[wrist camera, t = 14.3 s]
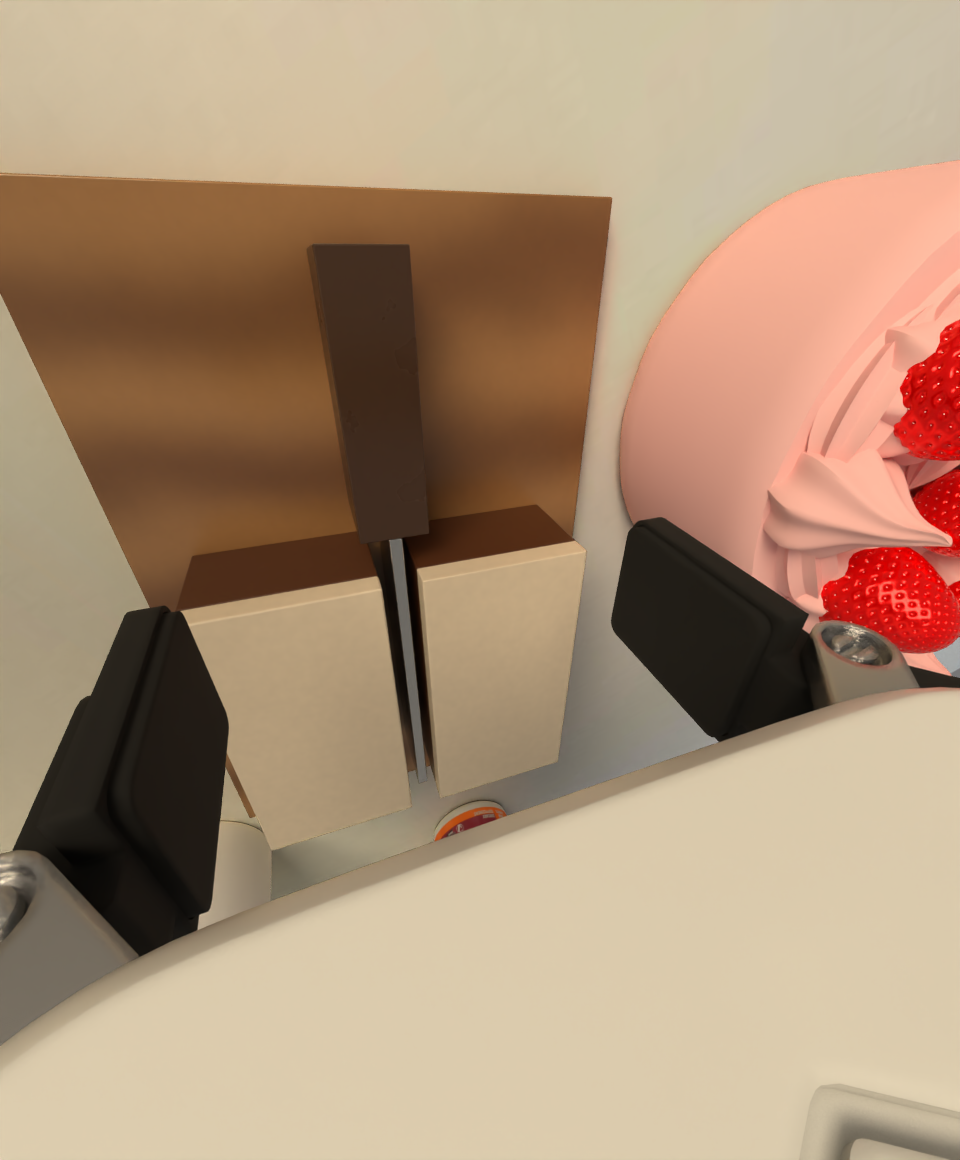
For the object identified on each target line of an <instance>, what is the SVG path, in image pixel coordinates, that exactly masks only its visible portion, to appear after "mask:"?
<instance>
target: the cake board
mask: <svg viewBox="0 0 960 1160" xmlns="http://www.w3.org/2000/svg"><path fill="white" fill-rule="evenodd" d="M611 204H612V198H611V197H594V196H569V195H543V194H518V193H493V192H468V191H442V190H417V189H392V188H367V187H341V186H316V185H291V184H266V183H241V182H215V181H190V180H165V179H140V178H114V177H89V176H64V175H39V174H13V173H0V294H1V296H2V298H3V300H4V302H5V304H6V306H7V308H8V310H9V312H10V315H11V317H12V319H13V321H14V323H15V325H16V327H17V329H18V331H19V333H20V336H21V338H22V340H23V342H24V344H25V346H26V348H27V350H28V352H29V355H30V357H31V359H32V361H33V363H34V365H35V367H36V369H37V371H38V373H39V376H40V378H41V380H42V382H43V384H44V386H45V388H46V390H47V392H48V394H49V397H50V399H51V401H52V403H53V405H54V407H55V409H56V411H57V413H58V416H59V418H60V420H61V422H62V424H63V426H64V428H65V430H66V432H67V434H68V437H69V439H70V441H71V443H72V445H73V447H74V449H75V451H76V453H77V455H78V458H79V460H80V462H81V464H82V466H83V468H84V470H85V472H86V474H87V476H88V479H89V481H90V483H91V485H92V487H93V489H94V491H95V493H96V495H97V498H98V500H99V502H100V504H101V506H102V508H103V510H104V512H105V514H106V516H107V519H108V521H109V523H110V525H111V527H112V529H113V531H114V533H115V535H116V537H117V540H118V542H119V544H120V546H121V548H122V550H123V552H124V554H125V556H126V559H127V561H128V563H129V565H130V567H131V569H132V571H133V573H134V575H135V577H136V580H137V582H138V584H139V586H140V588H141V590H142V592H143V594H144V596H145V598H146V601H147V603H148V605H149V607H150V608H153V607H158V606H164V605H165V606H167V607H168V608H169V609H170V611H171V612H175V609H176V606H177V603H178V599H179V596H180V593H181V590H182V587H183V583H184V580H185V577H186V574H187V571H188V568H189V564H190V561H191V558H192V556H195V555H202V554H208V553H215V552H222V551H228V550H235V549H242V548H248V547H255V546H261V545H268V544H275V543H281V542H288V541H295V540H301V539H308V538H315V537H321V536H328V535H335V534H341V533H348V532H355V531H356V527H355V523H354V520H353V516H352V512H351V509H350V505H349V501H348V495H347V489H346V483H345V477H344V471H343V465H342V459H341V453H340V447H339V441H338V435H337V429H336V423H335V417H334V411H333V405H332V399H331V393H330V387H329V381H328V375H327V369H326V363H325V357H324V351H323V345H322V339H321V333H320V327H319V321H318V315H317V309H316V303H315V297H314V291H313V285H312V279H311V273H310V267H309V261H308V255H307V248H308V247H309V246H310V245H312V244H313V243H336V244H409V246H410V257H411V272H412V286H413V301H414V315H415V330H416V344H417V359H418V374H419V388H420V403H421V417H422V432H423V446H424V461H425V475H426V490H427V505H428V519H429V520H435V519H442V518H449V517H455V516H462V515H469V514H475V513H482V512H489V511H495V510H502V509H509V508H515V507H522V506H528V505H535V504H536V505H538V506H539V507H540V508H541V509H542V510H543V511H545V512H546V513H547V514H548V515H549V516H550V517H551V518H552V519H553V520H554V521H555V522H556V523H557V524H558V525H559V526H560V527H561V528H562V529H564V530H565V531H566V532H567V533H568V534H569V535H570V536H571V537H572V536H573V528H574V519H575V511H576V502H577V494H578V485H579V477H580V468H581V460H582V451H583V443H584V434H585V426H586V417H587V409H588V400H589V392H590V383H591V375H592V366H593V357H594V349H595V340H596V332H597V323H598V315H599V306H600V298H601V289H602V281H603V272H604V264H605V255H606V247H607V238H608V230H609V221H610V213H611ZM368 544H369V548H370V551H371V554H372V558H373V561H374V564H375V568H376V571H377V574H378V578H379V581H380V584H381V588H382V592H383V599H384V607H385V614H386V621H387V628H388V635H389V642H390V650H391V657H392V664H393V671H394V678H395V685H396V693H397V700H398V707H399V714H400V721H401V729H402V736H403V743H404V750H405V757H406V764H407V772H410V771H413V770H415V767H414V763H413V759H412V756H411V752H410V748H409V744H408V740H407V736H406V732H405V727H404V720H403V713H402V705H401V698H400V690H399V683H398V676H397V668H396V661H395V653H394V646H393V639H392V631H391V624H390V616H389V609H388V602H387V594H386V587H385V579H384V572H383V564H382V557H381V550H380V542H372V543H368ZM423 742H424V741H423ZM424 752H425V761H426V767H427V766H430V762H429V758H428V755H427V752H426V748H425V745H424ZM225 767H226V769H227V771H228V773H229V775H230V777H231V779H232V781H233V784H234V786H235V788H236V790H237V792H238V794H239V796H240V798H241V800H242V802H243V805H244V807H245V809H246V811H247V813H248V815H249V817H250V818H252V817H255V816H256V815H255V813H254V811H253V809H252V806H251V804H250V802H249V800H248V798H247V796H246V793H245V791H244V789H243V787H242V785H241V783H240V780H239V778H238V776H237V774H236V772H235V770H234V767H233V765H232V763H231V761H230V759H229V757H228V754H227V755H226V765H225Z"/></svg>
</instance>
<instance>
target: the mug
mask: <svg viewBox="0 0 960 1160" xmlns="http://www.w3.org/2000/svg"><path fill="white" fill-rule="evenodd" d="M271 864H272V850H271V848H270V845H269V843H268V841H267V839H266V837H265V835H264V833H263V832H261V831H260V830H258V829H257V828H255V827H252V826H250V825H247V824H243V823H238V822H229V821H220V826H219V836H218V846H217V857H216V867H215V877H214V887H213V897H212V904H211V907H210V910H209V911H208V912H206V913H203V914H200V915H199V921H198V930H199V929H202V928H204V927H206V926H209V925H211V924H214V923H216V922H218V921H221V920H223V919H226V918H228V917H230V916H233V915H235V914H238V913H240V912H243V911H245V910H248V909H251V908H253V907H256V906H259V905H261V904H264V903H267V902H270V901H271Z"/></svg>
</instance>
